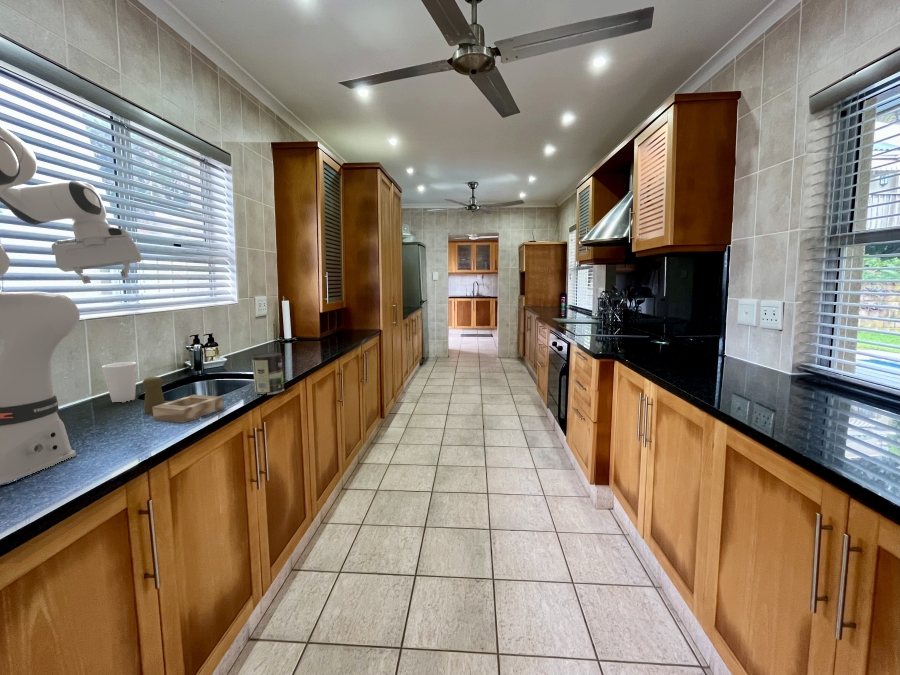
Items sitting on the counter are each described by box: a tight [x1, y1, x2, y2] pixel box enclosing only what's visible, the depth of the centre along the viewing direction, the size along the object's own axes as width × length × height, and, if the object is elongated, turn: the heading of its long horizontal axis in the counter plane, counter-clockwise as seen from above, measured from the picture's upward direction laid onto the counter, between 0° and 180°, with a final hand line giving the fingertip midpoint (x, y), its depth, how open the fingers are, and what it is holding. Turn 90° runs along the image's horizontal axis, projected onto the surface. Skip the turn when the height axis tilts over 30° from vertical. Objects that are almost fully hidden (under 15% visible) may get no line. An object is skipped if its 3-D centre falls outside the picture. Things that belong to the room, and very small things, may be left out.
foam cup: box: [101, 361, 138, 403], centre depth 144 cm, size 10×9×13 cm
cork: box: [142, 376, 166, 415], centre depth 131 cm, size 6×6×11 cm
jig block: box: [152, 394, 224, 423], centre depth 127 cm, size 14×12×4 cm
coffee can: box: [251, 352, 285, 396], centre depth 152 cm, size 10×10×14 cm
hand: (106, 280), depth 124 cm, fingers open, 8 cm apart
